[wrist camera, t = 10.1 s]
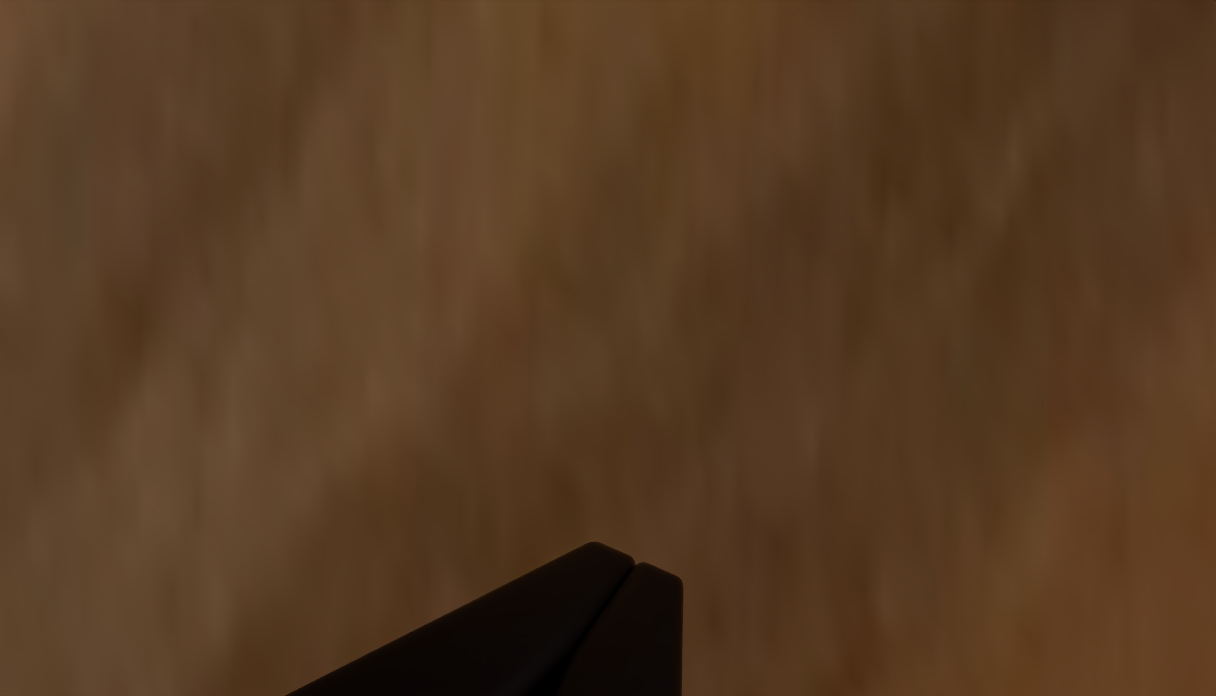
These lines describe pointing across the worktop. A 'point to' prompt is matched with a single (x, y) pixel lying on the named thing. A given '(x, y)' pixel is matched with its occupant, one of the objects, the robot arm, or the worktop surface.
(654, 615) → the robot arm
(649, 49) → the worktop surface
